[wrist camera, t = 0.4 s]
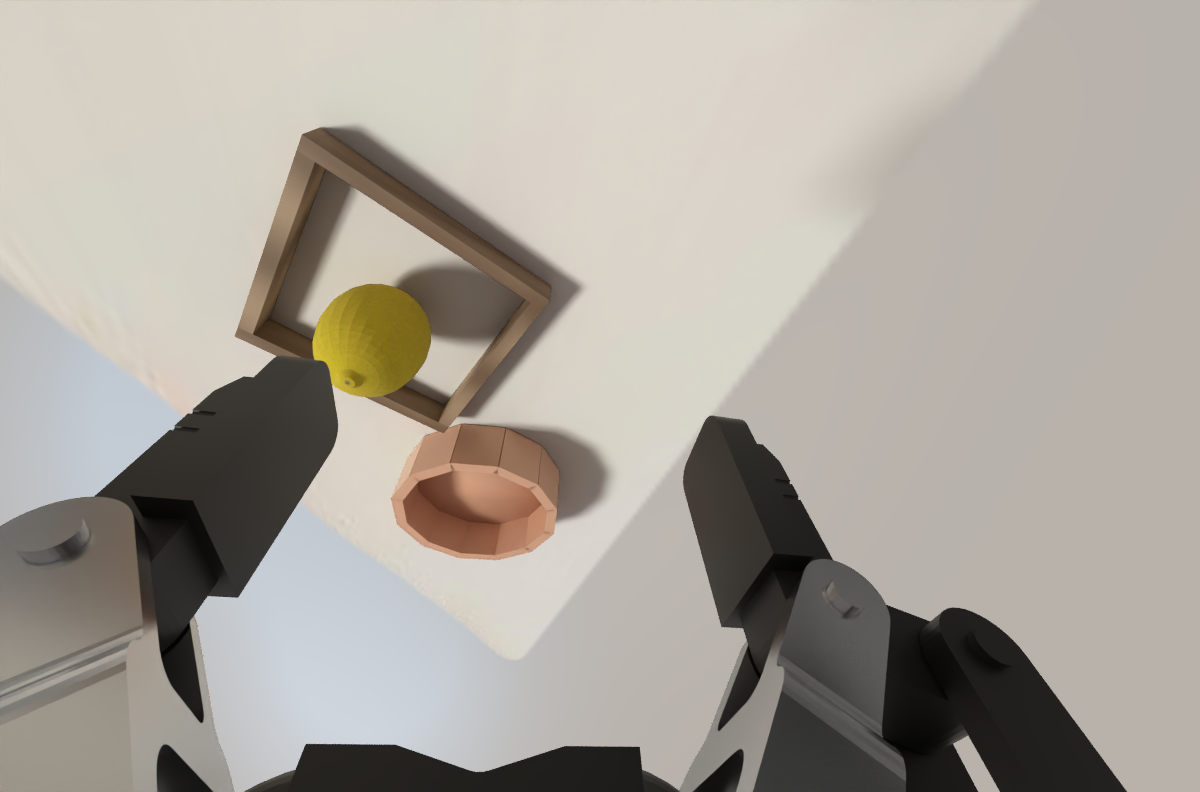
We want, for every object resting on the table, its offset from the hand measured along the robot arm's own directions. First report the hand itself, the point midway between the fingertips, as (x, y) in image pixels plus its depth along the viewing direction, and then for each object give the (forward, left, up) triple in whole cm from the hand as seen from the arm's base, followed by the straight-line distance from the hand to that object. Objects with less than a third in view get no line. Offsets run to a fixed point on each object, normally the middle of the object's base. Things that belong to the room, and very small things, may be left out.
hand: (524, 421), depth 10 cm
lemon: (+12, -4, -18) cm, 22 cm away
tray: (+12, -4, -18) cm, 22 cm away
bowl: (+23, +9, -18) cm, 31 cm away
